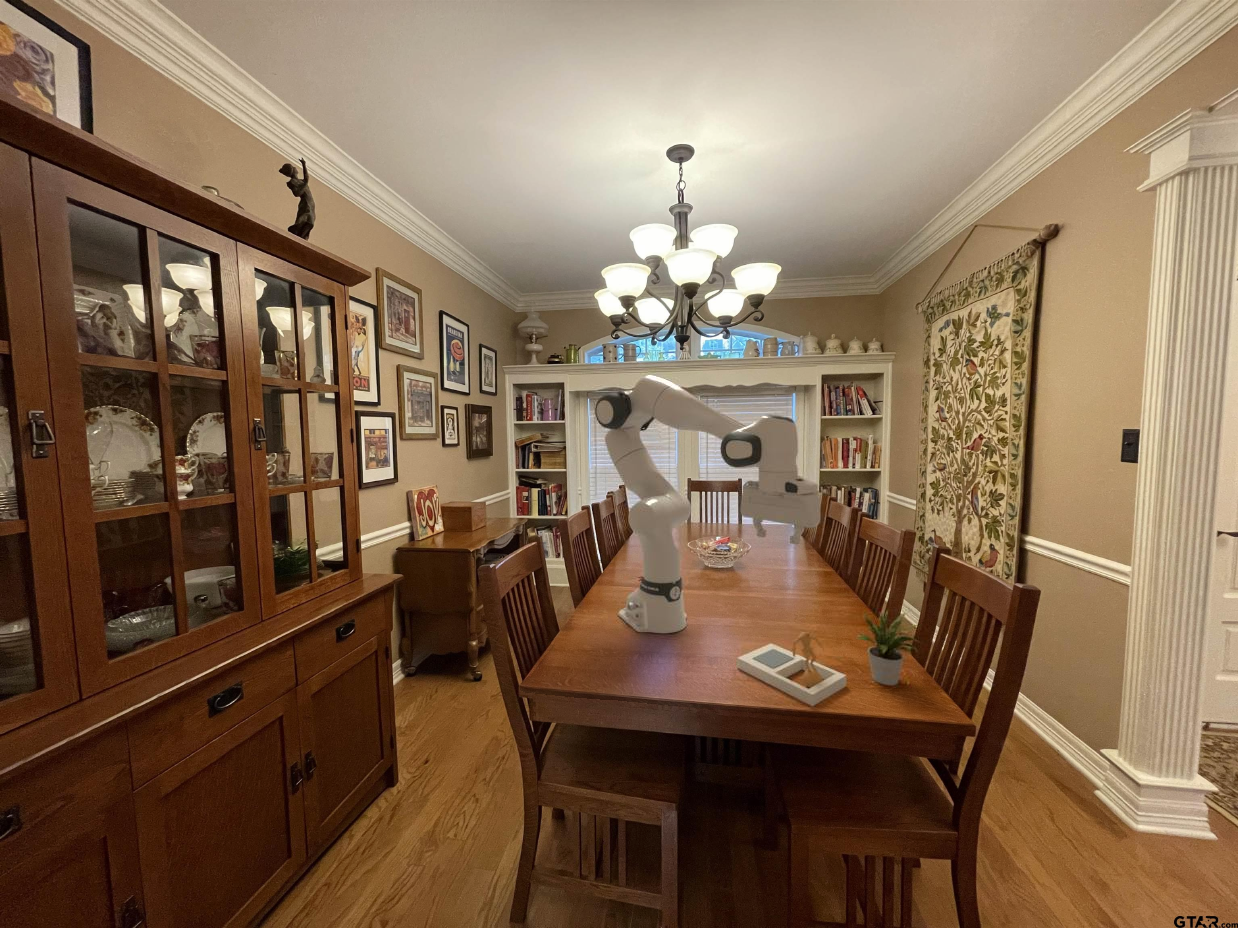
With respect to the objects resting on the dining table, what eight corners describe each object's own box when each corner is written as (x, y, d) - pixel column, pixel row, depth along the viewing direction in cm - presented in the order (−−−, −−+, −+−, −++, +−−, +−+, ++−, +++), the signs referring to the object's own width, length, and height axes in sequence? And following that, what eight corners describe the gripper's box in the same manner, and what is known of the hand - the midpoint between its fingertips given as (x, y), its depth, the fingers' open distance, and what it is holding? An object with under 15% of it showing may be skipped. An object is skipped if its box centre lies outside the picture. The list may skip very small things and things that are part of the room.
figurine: (803, 695, 101) (803, 641, 100) (785, 681, 107) (785, 630, 106) (834, 688, 104) (835, 636, 103) (815, 675, 109) (815, 625, 109)
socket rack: (737, 667, 114) (737, 656, 113) (771, 652, 121) (771, 642, 121) (812, 706, 97) (812, 693, 97) (846, 686, 105) (846, 674, 104)
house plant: (854, 692, 102) (855, 619, 101) (839, 662, 115) (840, 597, 114) (927, 700, 99) (929, 625, 98) (903, 668, 112) (904, 601, 111)
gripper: (735, 480, 118) (735, 534, 119) (808, 487, 101) (807, 550, 102) (751, 479, 122) (751, 531, 123) (824, 485, 105) (824, 545, 106)
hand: (777, 540), depth 112 cm, fingers open, 8 cm apart
